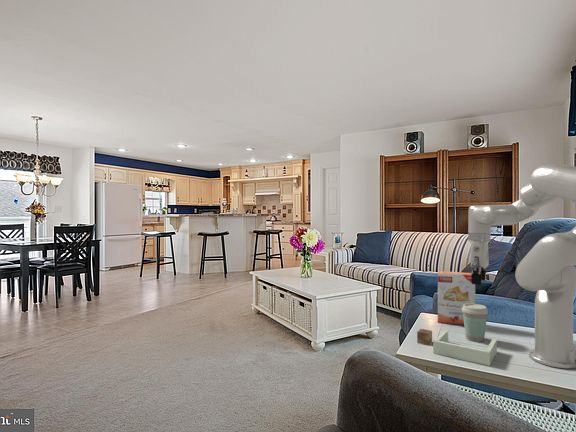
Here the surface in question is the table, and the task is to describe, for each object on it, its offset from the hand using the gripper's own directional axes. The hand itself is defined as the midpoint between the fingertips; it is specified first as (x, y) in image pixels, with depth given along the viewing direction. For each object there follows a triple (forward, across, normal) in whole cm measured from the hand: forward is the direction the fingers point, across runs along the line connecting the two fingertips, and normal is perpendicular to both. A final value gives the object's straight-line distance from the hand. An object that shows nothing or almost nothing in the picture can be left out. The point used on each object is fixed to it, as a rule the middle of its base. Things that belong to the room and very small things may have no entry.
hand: (478, 282), depth 137 cm
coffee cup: (+19, -10, -1) cm, 22 cm away
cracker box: (+20, +6, +9) cm, 22 cm away
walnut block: (+19, -24, +13) cm, 33 cm away
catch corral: (+19, -25, 0) cm, 32 cm away
